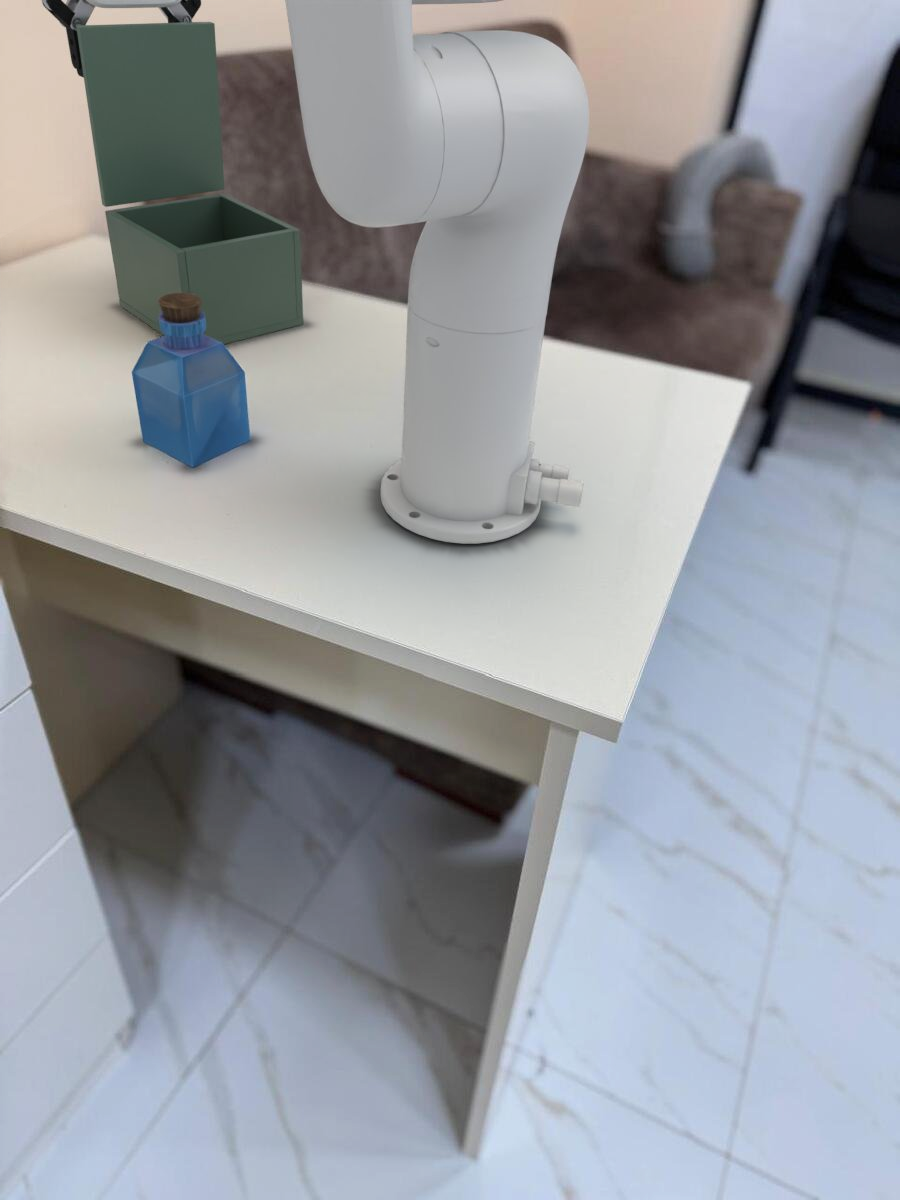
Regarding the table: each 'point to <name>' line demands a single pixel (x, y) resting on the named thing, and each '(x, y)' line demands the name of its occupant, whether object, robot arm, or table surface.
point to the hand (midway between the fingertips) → (134, 74)
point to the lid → (153, 109)
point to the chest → (209, 264)
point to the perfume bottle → (189, 387)
